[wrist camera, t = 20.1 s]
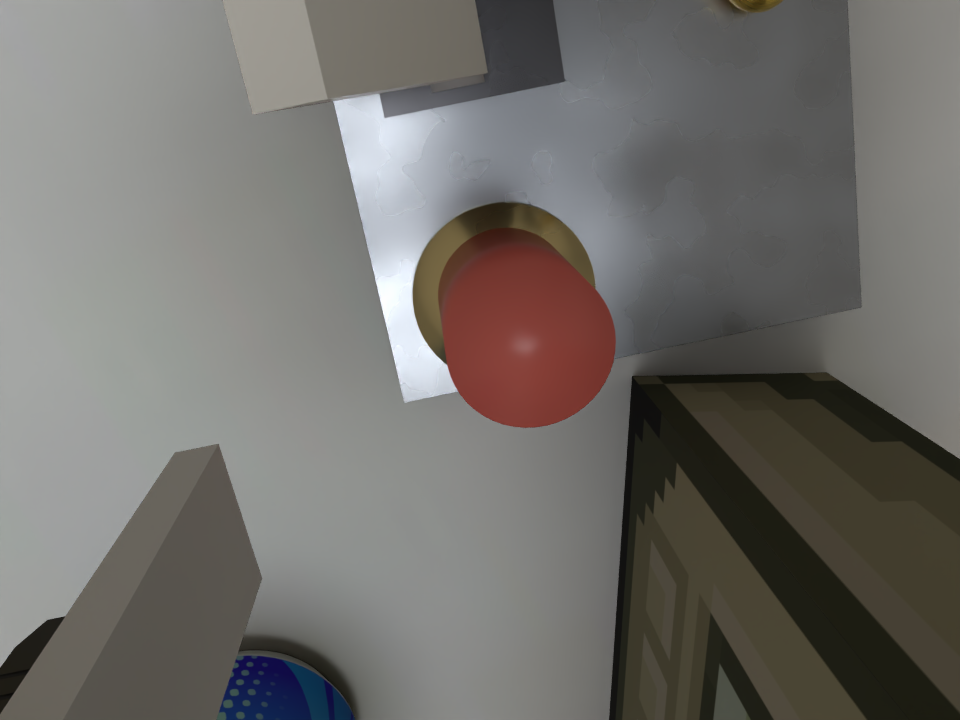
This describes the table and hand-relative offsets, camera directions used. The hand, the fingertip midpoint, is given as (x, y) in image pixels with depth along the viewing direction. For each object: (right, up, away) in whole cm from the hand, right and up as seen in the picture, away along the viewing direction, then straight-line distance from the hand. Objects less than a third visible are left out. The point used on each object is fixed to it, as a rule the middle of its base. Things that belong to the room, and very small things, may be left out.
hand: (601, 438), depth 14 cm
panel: (+1, +13, +12) cm, 18 cm away
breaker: (-3, +10, +7) cm, 13 cm away
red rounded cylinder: (-1, +3, +12) cm, 13 cm away
